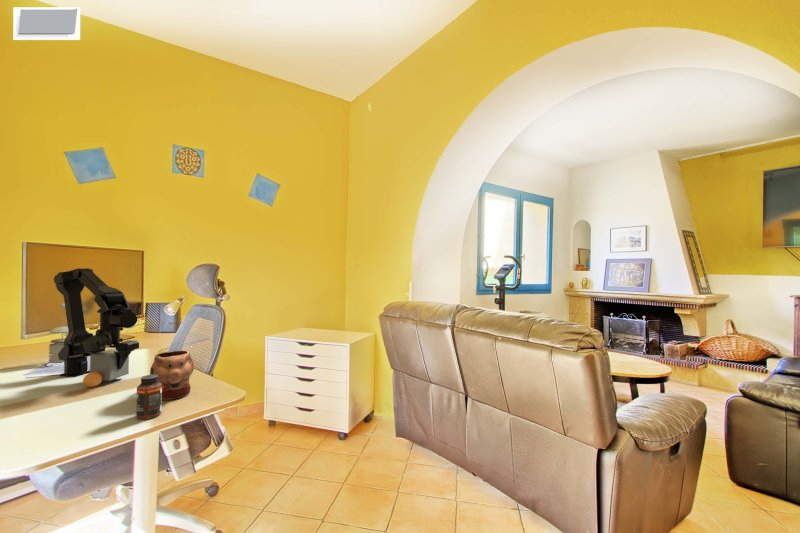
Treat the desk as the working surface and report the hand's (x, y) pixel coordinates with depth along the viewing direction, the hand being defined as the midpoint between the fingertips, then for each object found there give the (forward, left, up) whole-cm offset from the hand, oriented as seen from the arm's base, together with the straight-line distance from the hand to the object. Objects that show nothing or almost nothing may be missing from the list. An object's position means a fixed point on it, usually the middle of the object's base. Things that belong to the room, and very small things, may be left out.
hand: (109, 368), depth 129 cm
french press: (-39, +17, -5) cm, 43 cm away
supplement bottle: (+37, -23, -5) cm, 44 cm away
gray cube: (0, 0, -3) cm, 3 cm away
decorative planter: (+31, -7, -5) cm, 32 cm away
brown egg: (0, -6, -2) cm, 6 cm away
